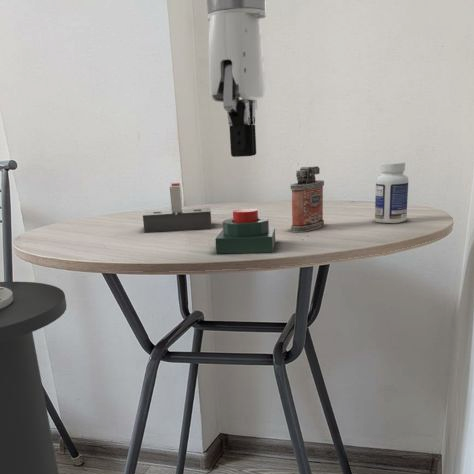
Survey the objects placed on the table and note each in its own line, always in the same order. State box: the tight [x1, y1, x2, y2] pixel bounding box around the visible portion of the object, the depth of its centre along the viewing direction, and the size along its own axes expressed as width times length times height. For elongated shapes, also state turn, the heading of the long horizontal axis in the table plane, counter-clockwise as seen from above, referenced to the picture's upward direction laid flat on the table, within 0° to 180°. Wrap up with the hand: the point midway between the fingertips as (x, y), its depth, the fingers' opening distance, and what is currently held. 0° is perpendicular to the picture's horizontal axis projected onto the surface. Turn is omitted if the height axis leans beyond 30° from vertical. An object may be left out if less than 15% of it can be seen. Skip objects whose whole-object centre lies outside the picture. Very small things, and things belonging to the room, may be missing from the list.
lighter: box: [290, 165, 325, 233], centre depth 98 cm, size 8×3×10 cm, turn 143°
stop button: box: [232, 208, 259, 223], centre depth 84 cm, size 4×4×2 cm
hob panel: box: [142, 207, 212, 233], centre depth 106 cm, size 9×12×3 cm
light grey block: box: [169, 182, 184, 213], centre depth 105 cm, size 4×2×5 cm, turn 3°
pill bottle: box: [374, 161, 409, 224], centre depth 100 cm, size 5×5×10 cm
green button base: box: [215, 216, 276, 255], centre depth 85 cm, size 8×8×4 cm
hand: (243, 155), depth 81 cm, fingers closed
